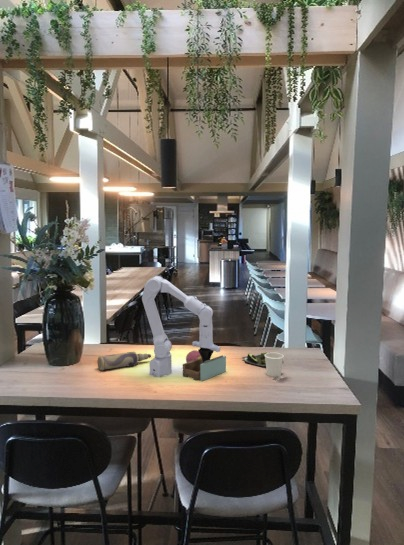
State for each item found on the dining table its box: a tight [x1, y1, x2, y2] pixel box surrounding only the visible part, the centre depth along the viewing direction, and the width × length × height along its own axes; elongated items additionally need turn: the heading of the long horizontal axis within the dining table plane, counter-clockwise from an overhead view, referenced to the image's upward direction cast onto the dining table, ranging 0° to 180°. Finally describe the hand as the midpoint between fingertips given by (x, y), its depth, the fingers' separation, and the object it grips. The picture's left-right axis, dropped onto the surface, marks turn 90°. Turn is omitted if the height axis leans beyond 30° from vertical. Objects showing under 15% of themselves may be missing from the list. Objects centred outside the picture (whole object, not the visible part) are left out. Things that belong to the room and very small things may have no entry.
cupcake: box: [185, 349, 202, 363], centre depth 201 cm, size 9×8×12 cm
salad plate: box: [241, 352, 271, 369], centre depth 213 cm, size 19×18×5 cm
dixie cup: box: [264, 352, 285, 381], centre depth 190 cm, size 8×8×10 cm
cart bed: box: [182, 358, 203, 382], centre depth 191 cm, size 18×10×6 cm, turn 138°
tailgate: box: [200, 354, 227, 382], centre depth 187 cm, size 16×1×8 cm, turn 138°
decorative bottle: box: [96, 351, 152, 371], centre depth 207 cm, size 26×8×7 cm, turn 119°
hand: (206, 364), depth 190 cm, fingers closed
